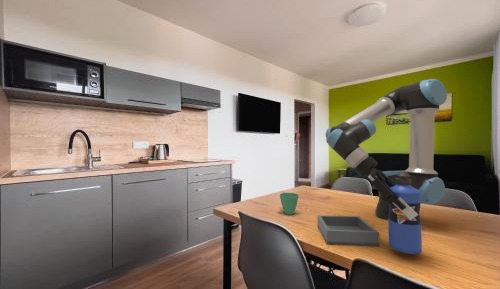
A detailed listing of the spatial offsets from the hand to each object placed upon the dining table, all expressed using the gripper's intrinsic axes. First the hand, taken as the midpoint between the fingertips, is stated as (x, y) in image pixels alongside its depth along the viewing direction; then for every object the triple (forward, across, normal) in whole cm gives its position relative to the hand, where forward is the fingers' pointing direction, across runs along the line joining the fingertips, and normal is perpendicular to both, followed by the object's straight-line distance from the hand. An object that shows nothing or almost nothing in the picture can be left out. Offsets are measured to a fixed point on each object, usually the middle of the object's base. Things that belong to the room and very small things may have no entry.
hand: (415, 213), depth 71 cm
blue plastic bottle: (+6, 0, -11) cm, 13 cm away
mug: (-31, -15, -51) cm, 61 cm away
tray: (-7, -3, -26) cm, 27 cm away
